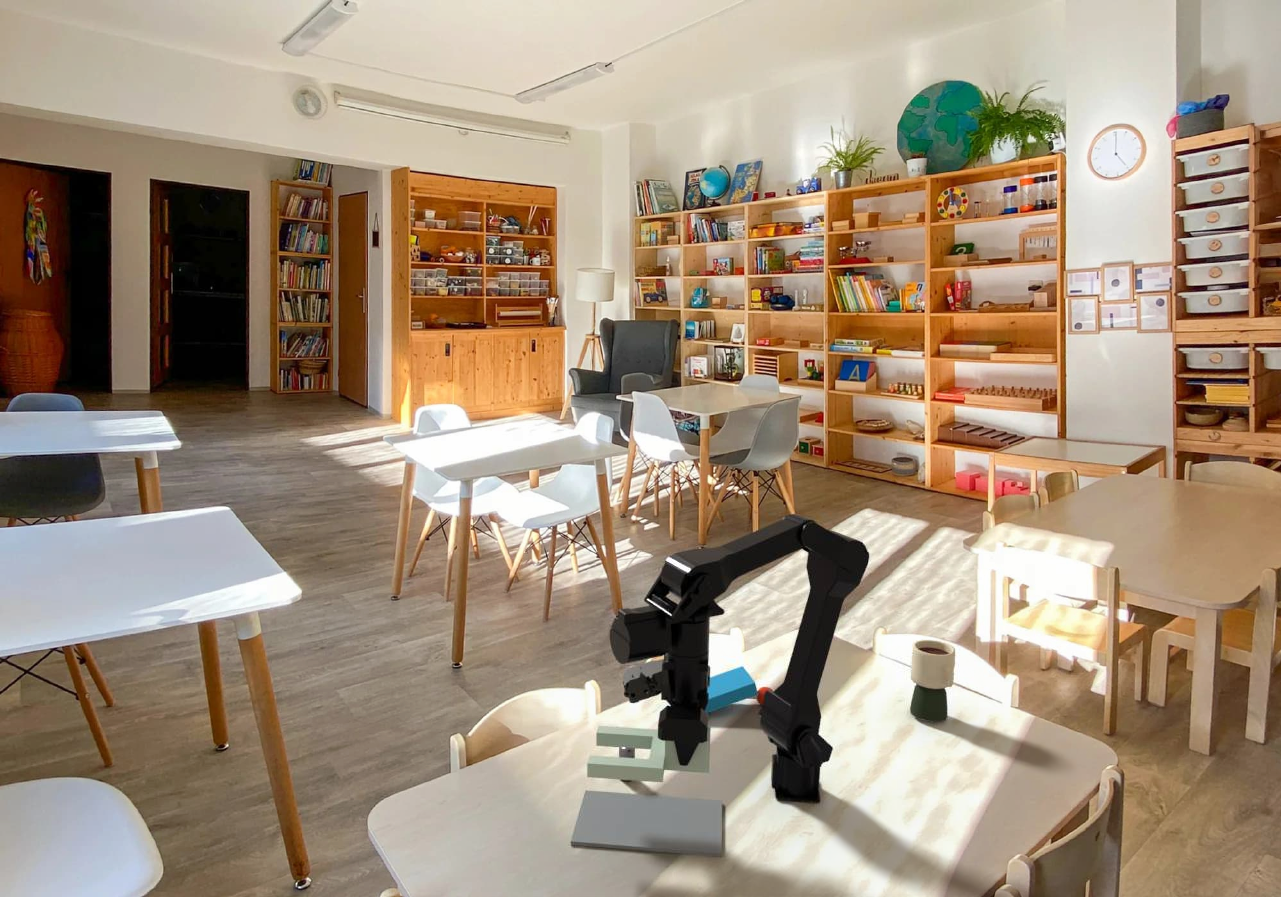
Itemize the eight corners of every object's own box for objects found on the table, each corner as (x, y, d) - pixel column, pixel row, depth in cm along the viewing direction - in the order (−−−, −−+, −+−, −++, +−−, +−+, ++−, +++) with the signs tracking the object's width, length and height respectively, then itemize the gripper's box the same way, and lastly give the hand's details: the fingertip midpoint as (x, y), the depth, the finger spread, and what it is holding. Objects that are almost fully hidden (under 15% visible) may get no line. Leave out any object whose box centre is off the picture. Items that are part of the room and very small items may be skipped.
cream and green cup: (965, 729, 147) (971, 657, 144) (929, 734, 145) (935, 662, 142) (927, 700, 157) (932, 633, 155) (893, 705, 155) (898, 637, 153)
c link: (710, 746, 121) (711, 716, 121) (708, 785, 112) (709, 754, 111) (598, 738, 123) (598, 709, 122) (587, 777, 113) (587, 745, 112)
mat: (722, 803, 124) (722, 800, 124) (721, 856, 112) (721, 853, 112) (585, 793, 126) (585, 790, 126) (570, 844, 114) (570, 841, 114)
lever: (688, 745, 149) (783, 710, 152) (678, 709, 147) (774, 675, 150) (678, 725, 156) (769, 693, 158) (668, 692, 154) (761, 659, 157)
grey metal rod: (635, 773, 131) (635, 743, 130) (633, 782, 129) (634, 751, 128) (619, 772, 131) (620, 742, 130) (617, 781, 129) (618, 750, 128)
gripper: (634, 619, 124) (633, 719, 127) (618, 675, 106) (617, 791, 108) (711, 623, 123) (708, 724, 126) (708, 681, 104) (705, 797, 107)
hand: (684, 756), depth 117 cm, fingers closed on c link, 4 cm apart
